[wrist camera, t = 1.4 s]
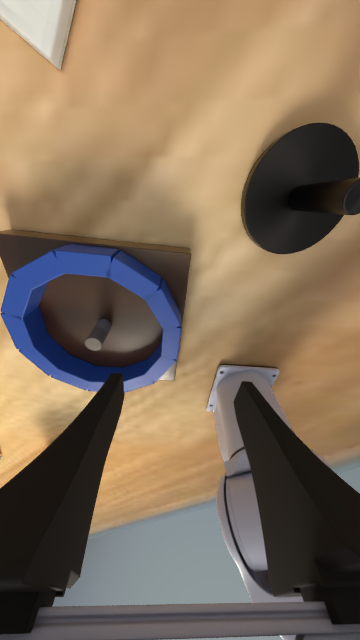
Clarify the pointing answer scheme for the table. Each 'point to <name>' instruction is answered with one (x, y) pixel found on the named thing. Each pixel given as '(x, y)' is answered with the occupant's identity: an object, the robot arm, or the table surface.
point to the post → (301, 188)
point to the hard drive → (41, 24)
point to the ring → (91, 261)
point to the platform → (101, 299)
